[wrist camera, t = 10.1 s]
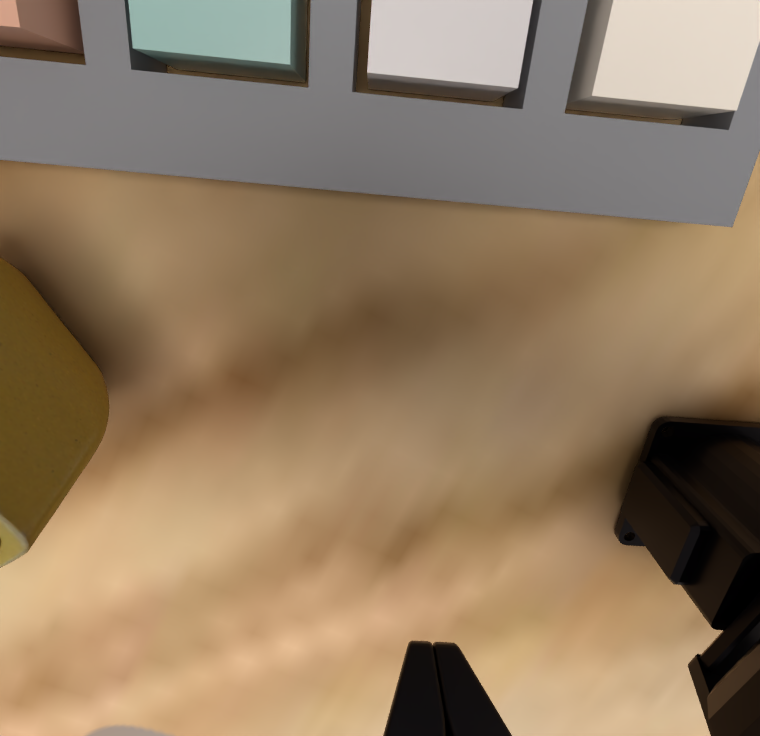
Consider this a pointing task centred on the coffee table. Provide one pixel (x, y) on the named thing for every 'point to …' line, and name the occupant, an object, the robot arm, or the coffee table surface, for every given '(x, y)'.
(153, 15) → the key
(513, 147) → the keyguard frame
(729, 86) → the key
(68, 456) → the flower pot
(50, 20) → the key
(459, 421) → the coffee table surface
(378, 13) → the key
